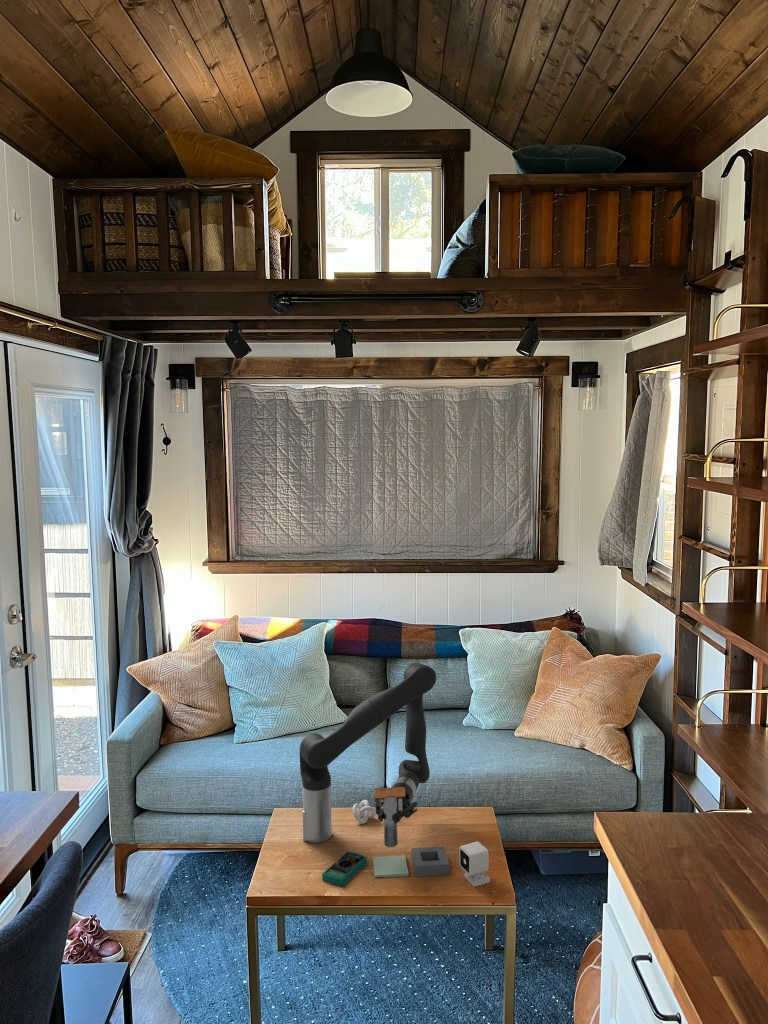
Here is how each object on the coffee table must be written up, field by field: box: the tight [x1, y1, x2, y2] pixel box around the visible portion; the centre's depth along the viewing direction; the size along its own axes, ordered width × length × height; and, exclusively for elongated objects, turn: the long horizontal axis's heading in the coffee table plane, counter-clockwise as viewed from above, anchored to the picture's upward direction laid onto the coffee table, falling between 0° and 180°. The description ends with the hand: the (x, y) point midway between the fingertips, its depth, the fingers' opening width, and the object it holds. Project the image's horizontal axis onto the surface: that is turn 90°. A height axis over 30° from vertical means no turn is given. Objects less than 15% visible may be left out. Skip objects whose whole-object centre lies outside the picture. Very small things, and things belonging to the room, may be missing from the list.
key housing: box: [410, 846, 450, 877], centre depth 226 cm, size 10×10×3 cm
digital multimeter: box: [321, 850, 368, 887], centre depth 224 cm, size 7×15×3 cm, turn 151°
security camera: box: [458, 841, 491, 888], centre depth 218 cm, size 6×7×10 cm
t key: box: [374, 787, 405, 848], centre depth 224 cm, size 9×4×17 cm, turn 95°
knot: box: [352, 799, 377, 825], centre depth 254 cm, size 8×8×6 cm
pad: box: [372, 855, 410, 879], centre depth 225 cm, size 10×10×1 cm
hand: (388, 819), depth 221 cm, fingers closed on t key, 4 cm apart
